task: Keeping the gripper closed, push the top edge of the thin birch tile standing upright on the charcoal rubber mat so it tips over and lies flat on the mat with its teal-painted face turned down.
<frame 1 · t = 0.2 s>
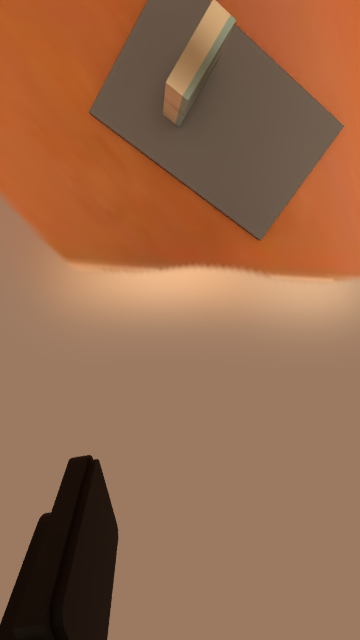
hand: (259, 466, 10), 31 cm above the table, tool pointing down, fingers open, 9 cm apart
mat: (219, 121, 34), on the table
tile: (188, 92, 32), point 1 cm above the table, touching mat
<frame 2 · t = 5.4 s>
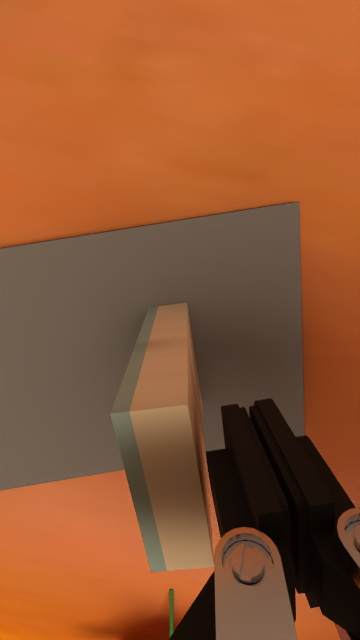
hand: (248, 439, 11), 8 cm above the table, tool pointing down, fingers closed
mat: (106, 361, 19), on the table
lily: (161, 620, 27), on the table
tile: (176, 357, 18), point 1 cm above the table, touching gripper, mat
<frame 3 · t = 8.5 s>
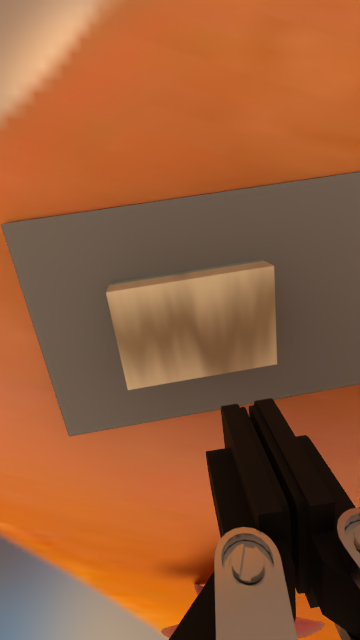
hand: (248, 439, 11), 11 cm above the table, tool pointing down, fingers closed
mat: (215, 310, 21), on the table
lily: (233, 558, 30), on the table
tile: (269, 312, 19), point 2 cm above the table, tilted 90°, touching mat
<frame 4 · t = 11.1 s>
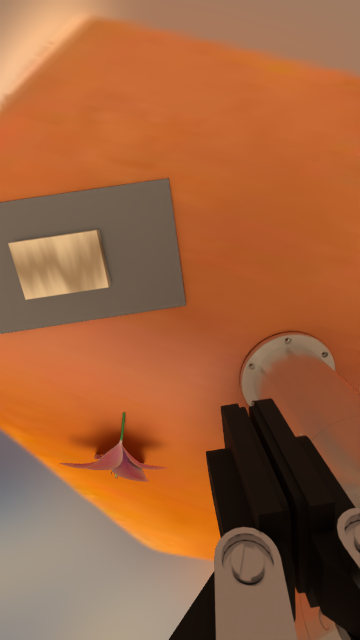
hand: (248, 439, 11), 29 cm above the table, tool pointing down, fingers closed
mat: (81, 259, 37), on the table
lily: (120, 436, 46), on the table
tile: (104, 258, 35), point 2 cm above the table, tilted 90°, touching mat
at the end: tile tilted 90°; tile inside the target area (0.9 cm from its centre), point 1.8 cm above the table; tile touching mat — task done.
